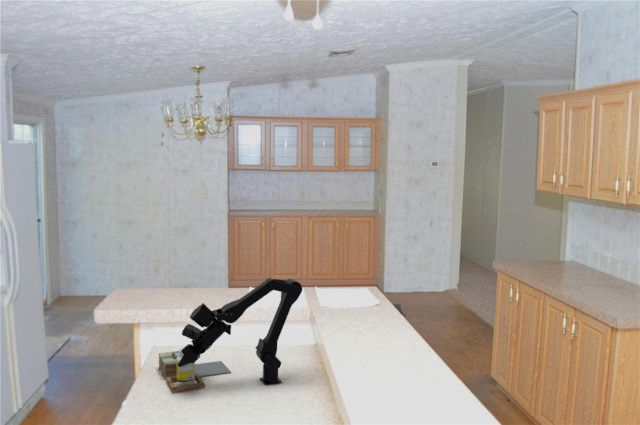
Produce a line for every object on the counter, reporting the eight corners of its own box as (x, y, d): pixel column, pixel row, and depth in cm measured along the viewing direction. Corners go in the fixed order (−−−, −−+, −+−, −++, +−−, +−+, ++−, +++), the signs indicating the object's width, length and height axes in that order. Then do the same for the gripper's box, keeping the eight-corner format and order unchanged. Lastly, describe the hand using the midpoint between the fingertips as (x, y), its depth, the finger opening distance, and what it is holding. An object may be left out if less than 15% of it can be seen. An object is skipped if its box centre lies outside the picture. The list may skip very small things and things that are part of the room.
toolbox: (204, 388, 194) (204, 369, 194) (172, 393, 189) (172, 373, 189) (187, 364, 219) (187, 347, 219) (158, 368, 214) (158, 350, 214)
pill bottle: (185, 376, 201) (185, 345, 201) (198, 379, 198) (198, 348, 198) (172, 382, 196) (172, 350, 195) (185, 385, 193) (185, 353, 192)
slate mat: (231, 373, 211) (231, 371, 211) (195, 378, 205) (195, 376, 205) (221, 362, 223) (221, 360, 223) (186, 366, 217) (186, 365, 217)
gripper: (204, 311, 205) (175, 339, 206) (186, 324, 186) (156, 354, 188) (224, 333, 204) (196, 360, 206) (209, 348, 186) (178, 378, 187)
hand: (181, 362), depth 197 cm, fingers closed on pill bottle, 6 cm apart
